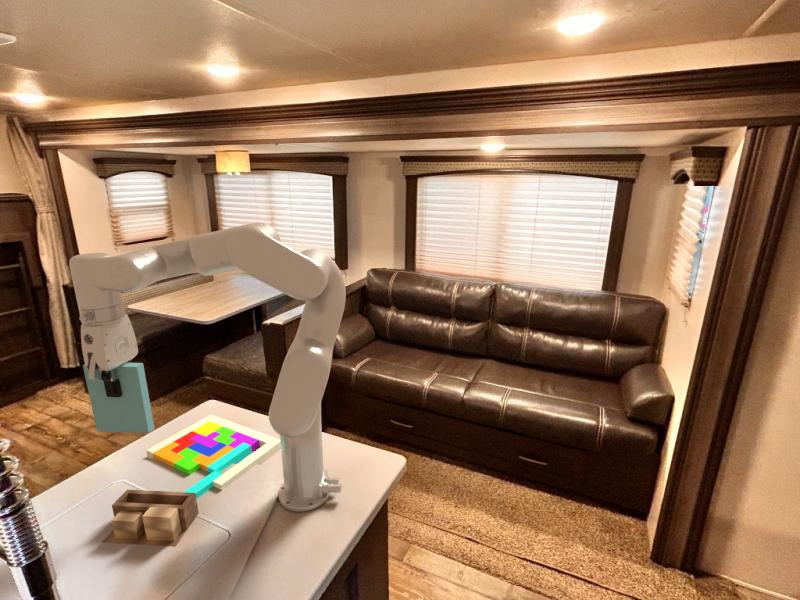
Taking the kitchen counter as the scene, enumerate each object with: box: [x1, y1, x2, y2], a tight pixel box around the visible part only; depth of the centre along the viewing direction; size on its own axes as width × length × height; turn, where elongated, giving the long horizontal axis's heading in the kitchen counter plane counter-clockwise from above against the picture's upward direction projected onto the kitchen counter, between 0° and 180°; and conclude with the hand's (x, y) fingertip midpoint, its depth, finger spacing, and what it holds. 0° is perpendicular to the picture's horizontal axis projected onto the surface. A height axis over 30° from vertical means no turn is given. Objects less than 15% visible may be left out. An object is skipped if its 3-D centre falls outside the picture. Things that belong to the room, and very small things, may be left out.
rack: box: [101, 489, 199, 547], centre depth 90 cm, size 16×9×6 cm, turn 86°
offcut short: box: [111, 511, 145, 539], centre depth 89 cm, size 5×3×4 cm, turn 86°
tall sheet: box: [82, 362, 155, 434], centre depth 91 cm, size 12×2×16 cm, turn 86°
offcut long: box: [142, 507, 181, 541], centre depth 88 cm, size 6×3×6 cm, turn 86°
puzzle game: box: [146, 414, 281, 500], centre depth 114 cm, size 30×3×30 cm
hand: (118, 393), depth 91 cm, fingers closed on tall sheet, 2 cm apart
